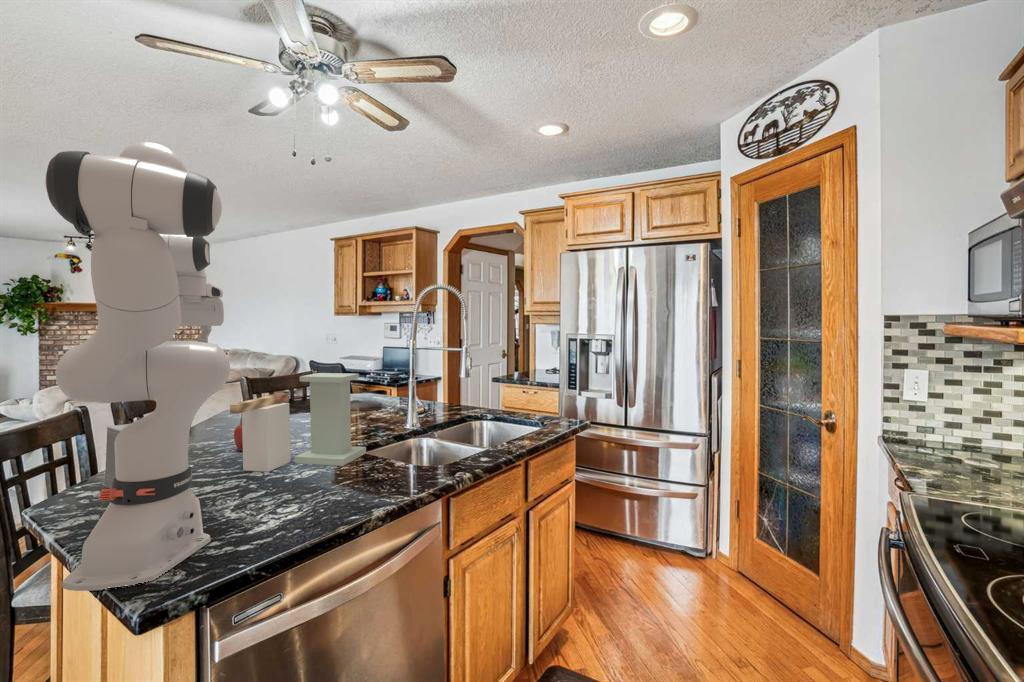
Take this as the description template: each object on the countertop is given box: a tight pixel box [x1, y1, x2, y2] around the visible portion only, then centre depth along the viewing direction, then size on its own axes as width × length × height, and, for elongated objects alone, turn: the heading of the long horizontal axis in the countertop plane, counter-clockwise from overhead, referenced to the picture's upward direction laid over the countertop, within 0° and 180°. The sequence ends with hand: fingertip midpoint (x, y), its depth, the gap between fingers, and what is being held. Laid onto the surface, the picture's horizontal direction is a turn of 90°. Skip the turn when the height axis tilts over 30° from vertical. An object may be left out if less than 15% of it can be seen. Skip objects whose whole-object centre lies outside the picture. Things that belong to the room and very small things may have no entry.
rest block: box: [241, 402, 292, 473], centre depth 142 cm, size 10×8×18 cm
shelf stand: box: [293, 372, 367, 467], centre depth 150 cm, size 14×16×26 cm
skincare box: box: [104, 423, 130, 489], centre depth 125 cm, size 8×7×16 cm
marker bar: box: [229, 392, 290, 415], centre depth 139 cm, size 20×4×2 cm, turn 169°
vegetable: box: [233, 424, 243, 451], centre depth 161 cm, size 11×10×10 cm
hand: (187, 344), depth 120 cm, fingers open, 8 cm apart
